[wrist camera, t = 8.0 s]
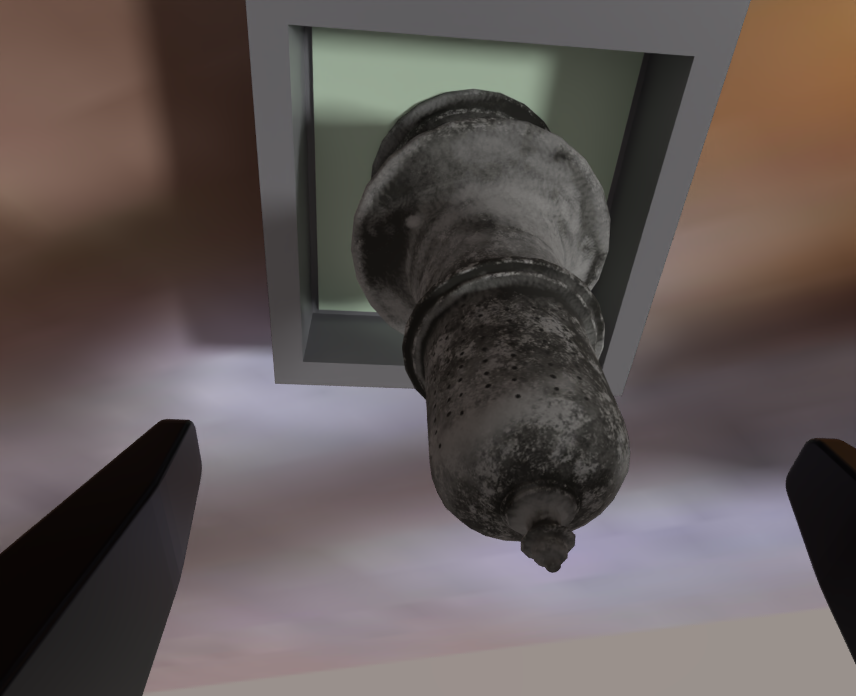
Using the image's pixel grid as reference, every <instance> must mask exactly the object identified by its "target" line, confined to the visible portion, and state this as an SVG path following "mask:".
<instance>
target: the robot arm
mask: <svg viewBox="0 0 856 696" xmlns="http://www.w3.org/2000/svg"><path fill="white" fill-rule="evenodd" d="M201 472H202V462H201V456H200V450H199V445H198V439H197V434H196V428H195V426H194V424H193V422H192V421H190V420H179V419H164V420H161V421H159V422H158V423H157V424H155V425H154V426H153V427H152V428H151V429H149V430H148V431H147V432H146V433H145V434H143V435H142V436H141V437H140V438H139V439H137V440H136V441H135V442H134V443H133V444H131V445H130V446H129V447H128V448H127V449H125V450H124V451H123V452H122V453H121V454H119V455H118V456H117V457H116V458H115V459H113V460H112V461H111V462H110V463H109V464H107V465H106V466H105V467H104V468H103V469H101V470H100V471H99V472H98V473H97V474H95V475H94V476H93V477H92V478H91V479H89V480H88V481H87V482H86V483H85V484H83V485H82V486H81V487H80V488H79V489H77V490H76V491H75V492H74V493H73V494H71V495H70V496H69V497H68V498H67V499H65V500H64V501H63V502H62V503H61V504H59V505H58V506H57V507H56V508H55V509H53V510H52V511H51V512H50V513H49V514H47V515H46V516H45V517H44V518H43V519H41V520H40V521H39V522H38V523H37V524H35V525H34V526H33V527H32V528H31V529H29V530H28V531H27V532H26V533H25V534H23V535H22V536H21V537H20V538H19V539H17V540H16V541H15V542H14V543H13V544H11V545H10V546H9V547H8V548H7V549H5V550H4V551H3V552H2V553H1V554H0V696H142V695H143V692H144V689H145V686H146V683H147V680H148V676H149V673H150V670H151V667H152V664H153V661H154V658H155V655H156V652H157V649H158V646H159V643H160V640H161V637H162V634H163V631H164V628H165V625H166V622H167V619H168V616H169V613H170V610H171V607H172V604H173V600H174V597H175V594H176V591H177V588H178V584H179V581H180V577H181V573H182V568H183V564H184V559H185V554H186V549H187V544H188V539H189V534H190V530H191V525H192V520H193V515H194V510H195V505H196V500H197V495H198V490H199V485H200V480H201ZM786 491H787V494H788V497H789V500H790V503H791V506H792V509H793V512H794V515H795V517H796V520H797V523H798V526H799V529H800V532H801V535H802V538H803V541H804V543H805V546H806V549H807V552H808V555H809V558H810V561H811V564H812V567H813V569H814V572H815V575H816V577H817V580H818V583H819V585H820V588H821V590H822V592H823V594H824V597H825V599H826V601H827V603H828V606H829V608H830V610H831V612H832V614H833V616H834V619H835V621H836V623H837V625H838V627H839V629H840V631H841V634H842V636H843V638H844V640H845V642H846V644H847V647H848V649H849V651H850V653H851V655H852V657H853V659H854V662H855V664H856V449H855V448H854V447H852V446H850V445H849V444H847V443H846V442H844V441H842V440H839V439H827V438H814V439H811V440H809V441H808V442H806V444H805V445H804V447H803V448H802V450H801V452H800V454H799V455H798V457H797V459H796V461H795V462H794V464H793V466H792V468H791V469H790V471H789V473H788V475H787V478H786Z"/></svg>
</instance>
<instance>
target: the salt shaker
mask: <svg viewBox="0 0 856 696" xmlns="http://www.w3.org/2000/svg"><path fill="white" fill-rule="evenodd" d="M610 221H611V219H610V215H609V211H608V206H607V202H606V198H605V194H604V189H603V187H602V186H601V184H600V182H599V181H598V179H597V177H596V176H595V174H594V172H593V171H592V169H591V167H590V166H589V164H588V162H587V161H586V159H585V158H584V157H583V156H581V155H580V154H579V153H578V152H577V151H576V150H575V149H574V148H572V147H571V146H570V145H569V144H568V143H567V142H566V141H565V140H563V139H562V138H561V137H560V136H558V135H556V134H554V133H551V131H550V130H549V128H548V127H547V125H546V123H545V122H544V121H543V120H542V119H541V118H540V117H539V116H538V115H537V114H535V113H534V112H533V111H532V110H531V109H530V108H529V107H528V106H526V105H525V104H524V103H521V102H519V101H517V100H515V99H513V98H511V97H509V96H506V95H504V94H502V93H499V92H492V91H486V90H479V89H466V90H458V91H450V92H445V93H442V94H440V95H437V96H435V97H433V98H430V99H428V100H425V101H423V102H420V103H419V104H418V105H416V106H415V107H414V108H412V109H411V110H410V111H409V112H407V113H406V114H405V115H403V116H402V117H401V118H400V119H398V120H397V122H396V123H395V124H394V126H393V127H392V128H391V130H390V131H389V132H388V134H387V135H386V136H385V138H384V139H383V140H382V142H381V145H380V147H379V150H378V152H377V155H376V157H375V160H374V162H373V165H372V174H371V180H370V181H369V182H368V184H367V185H366V187H365V190H364V192H363V195H362V197H361V200H360V202H359V205H358V207H357V210H356V212H355V215H354V221H353V232H352V243H351V253H352V258H353V263H354V268H355V273H356V278H357V281H358V282H359V284H360V286H361V288H362V290H363V292H364V294H365V296H366V298H367V300H368V302H369V304H370V305H371V306H372V307H373V309H374V310H375V311H376V312H377V313H378V314H379V315H380V316H381V317H382V318H383V319H384V320H385V321H386V322H387V323H388V325H389V326H390V327H392V328H394V329H395V330H397V331H398V332H400V333H401V334H403V335H404V337H403V343H402V353H403V359H404V366H405V371H406V373H407V375H408V376H409V378H410V380H411V382H412V384H413V386H414V388H415V389H416V390H417V391H418V392H419V393H420V394H421V395H422V396H423V397H424V398H425V399H426V404H427V423H428V441H429V459H430V467H431V475H432V480H433V482H434V485H435V488H436V491H437V493H438V495H439V497H440V498H441V500H442V502H443V504H444V506H445V507H446V508H447V509H448V510H449V511H450V512H451V513H452V514H453V515H454V516H456V517H457V518H458V519H459V520H460V521H462V522H463V523H464V524H465V525H467V526H468V527H469V528H471V529H473V530H475V531H477V532H479V533H481V534H483V535H485V536H488V537H492V538H496V539H500V540H505V541H521V551H522V552H523V553H524V554H525V555H526V556H528V557H529V558H532V559H534V561H535V562H536V563H537V564H538V565H540V566H542V567H545V568H546V570H548V571H549V572H552V573H553V572H557V571H558V570H559V569H560V568H561V564H562V563H563V562H564V561H565V560H566V559H567V556H568V552H569V551H570V550H571V549H572V548H573V547H574V546H575V534H574V533H573V532H572V531H573V530H575V529H578V528H580V527H582V526H584V525H586V524H587V523H589V522H590V521H591V520H593V519H594V518H596V517H597V516H598V515H600V514H601V513H602V512H603V511H604V510H605V509H606V508H607V506H608V505H609V504H610V503H611V502H612V501H613V500H614V498H615V496H616V494H617V492H618V491H619V489H620V487H621V485H622V483H623V481H624V479H625V477H626V475H627V472H628V468H629V459H630V447H629V438H628V434H627V430H626V427H625V423H624V420H623V417H622V415H621V413H620V410H619V408H618V406H617V403H616V401H615V399H614V396H613V394H612V392H611V389H610V387H609V384H608V382H607V380H606V377H605V375H604V373H603V370H602V368H601V366H600V363H599V361H598V360H599V357H600V355H601V352H602V350H603V347H604V334H605V323H604V319H603V316H602V312H601V308H600V305H599V302H598V301H597V299H596V298H595V296H594V295H593V294H592V292H591V290H592V288H593V287H594V285H595V284H596V282H597V281H598V279H599V277H600V274H601V271H602V268H603V265H604V262H605V259H606V257H607V254H608V251H609V237H610Z"/></svg>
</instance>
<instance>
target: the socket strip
mask: <svg viewBox="0 0 856 696" xmlns="http://www.w3.org/2000/svg"><path fill="white" fill-rule="evenodd" d="M750 1H751V0H246V12H247V25H248V37H249V50H250V63H251V76H252V89H253V102H254V115H255V128H256V141H257V154H258V167H259V180H260V193H261V206H262V219H263V232H264V245H265V258H266V271H267V284H268V297H269V310H270V323H271V336H272V349H273V362H274V375H275V384H301V385H329V386H357V387H384V388H412V389H415V388H414V386H413V384H412V382H411V380H410V378H409V376H408V375H407V373H406V371H405V366H404V359H403V353H402V343H403V337H404V335H403V334H401V333H400V332H398V331H397V330H395V329H394V328H392V327H390V326H389V325H388V323H387V322H386V321H385V320H384V319H383V318H382V317H381V316H380V315H379V314H378V313H377V312H376V311H375V310H374V309H373V307H372V306H371V305H370V304H369V302H368V300H367V298H366V296H365V294H364V292H363V290H362V288H361V286H360V284H359V282H358V281H357V278H356V273H355V268H354V263H353V258H352V253H351V243H352V232H353V221H354V215H355V212H356V210H357V207H358V205H359V202H360V200H361V197H362V195H363V192H364V190H365V187H366V185H367V184H368V182H369V181H370V180H371V174H372V165H373V162H374V160H375V157H376V155H377V152H378V150H379V147H380V145H381V142H382V140H383V139H384V138H385V136H386V135H387V134H388V132H389V131H390V130H391V128H392V127H393V126H394V124H395V123H396V122H397V120H398V119H400V118H401V117H402V116H403V115H405V114H406V113H407V112H409V111H410V110H411V109H412V108H414V107H415V106H416V105H418V104H419V103H420V102H423V101H425V100H428V99H430V98H433V97H435V96H437V95H440V94H442V93H445V92H450V91H458V90H466V89H479V90H486V91H492V92H499V93H502V94H504V95H506V96H509V97H511V98H513V99H515V100H517V101H519V102H521V103H524V104H525V105H526V106H528V107H529V108H530V109H531V110H532V111H533V112H534V113H535V114H537V115H538V116H539V117H540V118H541V119H542V120H543V121H544V122H545V123H546V125H547V127H548V128H549V130H550V131H551V133H554V134H556V135H558V136H560V137H561V138H562V139H563V140H565V141H566V142H567V143H568V144H569V145H570V146H571V147H572V148H574V149H575V150H576V151H577V152H578V153H579V154H580V155H581V156H583V157H584V158H585V159H586V161H587V162H588V164H589V166H590V167H591V169H592V171H593V172H594V174H595V176H596V177H597V179H598V181H599V182H600V184H601V186H602V187H603V189H604V194H605V198H606V202H607V206H608V211H609V215H610V219H611V221H610V237H609V251H608V254H607V257H606V259H605V262H604V265H603V268H602V271H601V274H600V277H599V279H598V281H597V282H596V284H595V285H594V287H593V288H592V290H591V292H592V294H593V295H594V296H595V298H596V299H597V301H598V302H599V305H600V308H601V312H602V316H603V319H604V323H605V334H604V347H603V350H602V352H601V355H600V357H599V360H598V361H599V363H600V366H601V368H602V370H603V373H604V375H605V377H606V380H607V382H608V384H609V387H610V389H611V392H612V394H613V396H622V393H623V390H624V387H625V384H626V381H627V378H628V375H629V372H630V369H631V366H632V363H633V359H634V356H635V353H636V350H637V347H638V344H639V341H640V338H641V335H642V332H643V329H644V326H645V323H646V320H647V317H648V313H649V310H650V307H651V304H652V301H653V298H654V295H655V292H656V289H657V286H658V283H659V280H660V277H661V274H662V271H663V268H664V264H665V261H666V258H667V255H668V252H669V249H670V246H671V243H672V240H673V237H674V234H675V231H676V228H677V225H678V222H679V218H680V215H681V212H682V209H683V206H684V203H685V200H686V197H687V194H688V191H689V188H690V185H691V182H692V179H693V176H694V172H695V169H696V166H697V163H698V160H699V157H700V154H701V151H702V148H703V145H704V142H705V139H706V136H707V133H708V130H709V126H710V123H711V120H712V117H713V114H714V111H715V108H716V105H717V102H718V99H719V96H720V93H721V90H722V87H723V84H724V81H725V77H726V74H727V71H728V68H729V65H730V62H731V59H732V56H733V53H734V50H735V47H736V44H737V41H738V38H739V35H740V31H741V28H742V25H743V22H744V19H745V16H746V13H747V10H748V7H749V4H750Z"/></svg>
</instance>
